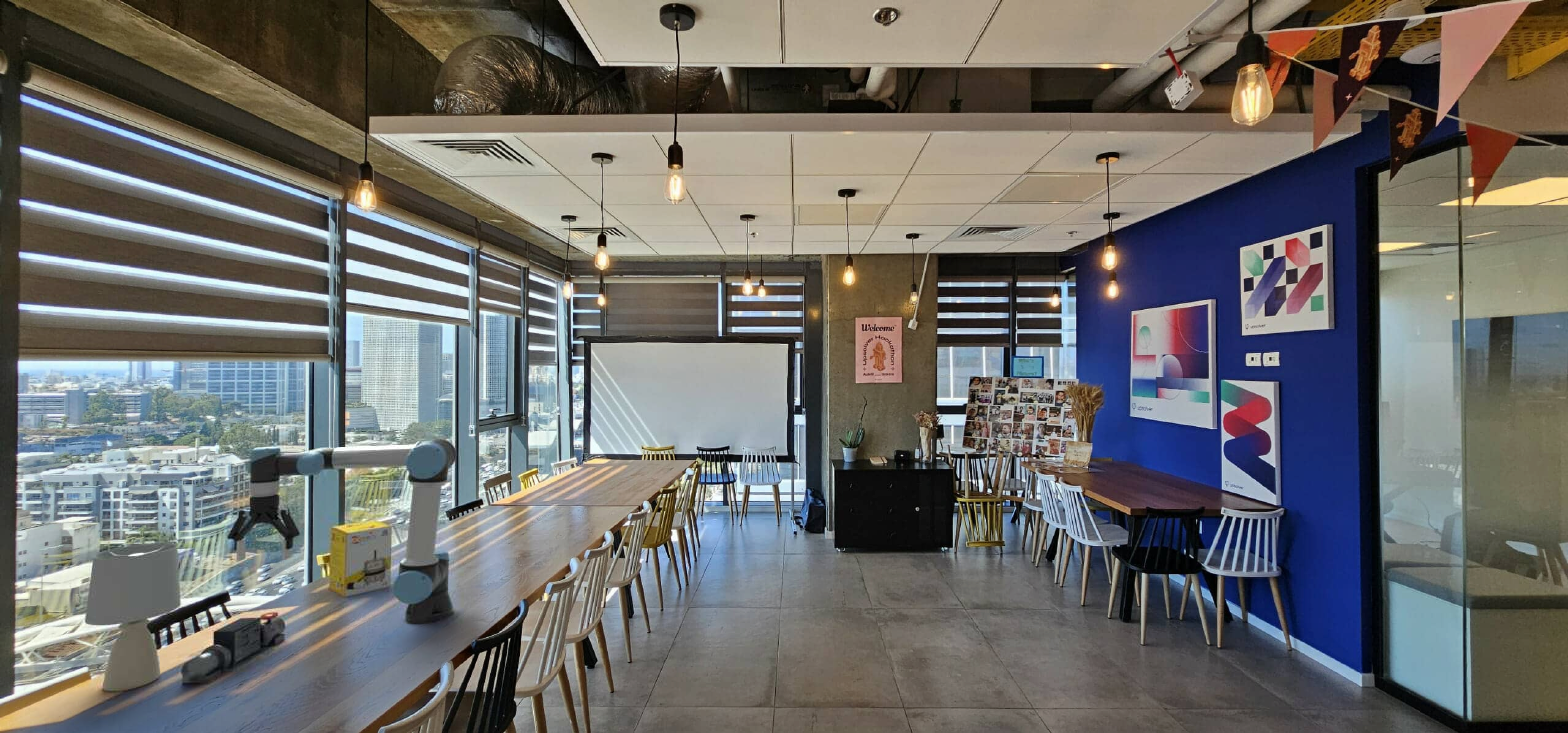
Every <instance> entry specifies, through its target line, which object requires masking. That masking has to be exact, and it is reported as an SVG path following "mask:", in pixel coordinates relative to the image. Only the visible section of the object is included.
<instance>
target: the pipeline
mask: <svg viewBox="0 0 1568 733" xmlns="http://www.w3.org/2000/svg"><path fill="white" fill-rule="evenodd" d="M278 616H279V612H276V611H273V612H272V611H271V612H267V613H264V614H261V615H260V617H261V620H262V621H264V622H261V633H260V646H261V650H260V651H259V652H257V653H255V654H253V655H252V656H250V657H248V658H246V659H245V660H243V661H241V662H240V663H238V664H236V665H234V666H229V664H230V662H231V653H230V651H229V649H228V648H227V647H225V646H223V645H220V644H215V645H213V644H212V645H210V646H207V647H206V648H204V649H203V650H202V651H201V653H200V655H198V656H196V657H194V658H192V659H190V660H188V661H186V662H185V663H183V665H182V667H181V671H180V672H181V676H182V677H181V679H182V681H181V684H182V683H201V684H210V683H211V681H212V680H214V681H215V680H217V679H219V678H221V677H220V676H222V674H221V673H222V672H238V671H239V670H241V669H244V668H245V667H246V666H249V665H250V664H251V663H253V662H255V661H257V660H259V659H260V658H262V657H264V656H265V655H268V654H269V653H270V652H273V651H274V650H275V647H267V646H277V645H278V644H280V643H281V642H283V641H285V633H284V632H285V629H286V623H285V621H284V620H283V619H282V618H280V617H278ZM218 677H219V678H218ZM209 682H210V683H209ZM212 682H213V681H212Z"/></svg>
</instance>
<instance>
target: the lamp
mask: <svg viewBox="0 0 1568 733" xmlns="http://www.w3.org/2000/svg"><path fill="white" fill-rule="evenodd" d="M179 565H180V564H179V551H178V544H176V543H172V542H154V543H153V542H152V543H151V542H150V543H143V544H134V545H125V546H121V547H120V546H119V547H116V548H112V549H107V550H103V551H100V552H97V553H96V554H94V555H93V558H92V564H91V573H90V579H89V580H90V581H89V588H88V595H87V602H86V609H85V617H84V623H85V625H91V626H113V625H118V629H119V630H120V633H119V635H118V636H117V638H116V640H115V642H114V644H113V646H112V648H111V650H110V653H109V657H108V659H107V665H106V667H105V672H104V677H103V683H102V688H103V690H104V691H105V692H110V693H111V691H112V693H113V692H114V691H116V692H124V691H129V690H133V689H137V688H141V687H143V686H146V685H148V684H150V683H153V682H154V681H156V680H157V679H158V678H159V677H160V676H161V668H160V660H159V655H158V650H157V645H156V641H155V640H154V637H153V635H152V633H151V632H150V630H149V629H148V627H147V626H148V624H149V623H150V620H149V619H151V618H155V617H160V616H162V615H165V614H168V613H170V612H173V611H174V610H176V609H178V608H179V607H181V605H182V604H181V602H182V601H181V586H180V584H181V583H180V569H179ZM159 675H160V676H159ZM114 693H115V692H114Z"/></svg>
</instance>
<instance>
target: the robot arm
mask: <svg viewBox="0 0 1568 733" xmlns="http://www.w3.org/2000/svg"><path fill="white" fill-rule="evenodd" d="M456 450H457V449H456V448H455V445H453V443H452V442H450V441H448V440H446V439H442V438H441V439H439V438H437V439H433V440H426V441H425V440H424V441H417V442H416V443H414V444H399V445H394V444H393V445H372V446H346V447H329V446H328V447H327V446H323V447H318V448H314V449H310V450H305V451H301V452H300V451H299V452H287V453H286V452H282V451H281V448H280V447H279V446H263V447H262V446H261V447H255V448H253V449H252V450H251V452H250V459H249V460H250V461H249V465H250V466H249V470H250V472H249V474H250V475H249V477H250V480H249V495H250V497H249V508H250V509H248V508H244V509H240V510H239V511H238V514H237V516H238V517H237V519H236V521H235V522H234V524H233V526H232V527H231V530H230V531H229V533H228V535H227V539H228V540H233V541H234V542H233V543H234V544H233V546H234V551H236V562H241V561H244V560H246V546H247V544H246V542H247V539H246V538H245V536H246V535H247V534H249V532H251V530H252V529H253V528H254V527H255V525H256V524H257V525H259V524H267V525H268V524H269V525H271V526H273V527H274V528H275V529H276V530H277V531H278V533H279V534H280V535H281V536H282V537H283V538H284V539H282V542H281V543H282V545H281V561H286V560H288V559H291V549H293V547H294V538H296V537H298V536H300V535H301V533H300V531H299V528H298V527H297V525H296V523H295V521H294V520H293V517H292V516H291V512H290V508H289V507H287V508H282V509H279V506H280V494H279V492H280V487H281V486H280V483H281V482H280V480H281V477H286V476H287V477H289V476H294V477H295V476H305V477H308V476H316V475H319V474H320V473H321V472H322V471H323V470H325V471H326V470H341V469H342V470H343V469H362V468H363V469H367V468H390V467H392V468H393V467H406V470H407V472H408V480H407V481H408V482H409V484H410V485H411V486H412V492H411V502H410V511H409V520H408V530H407V540H406V549H405V550H406V551H405V555H404V557H402V558H401V559H400V561H399V567H398V574H397V576H396V577H395V579H394V581H393V584H392V593H393V596H394V597H395V599H397V600H398V601H399V602H401V603H404V604H407V608H406V610H405V614H404V620H405V622H407V623H410V624H429V623H435V622H438V621H441V620H444V619H446V618H448V617H450V616H451V615H452V614H453V613H454V605H453V602H452V600H451V596H450V593H449V574H450V573H449V571H450V570H449V568H450V555H449V552H448V551H446V550H436V542H437V531H438V523H439V513H440V503H441V502H440V501H441V494H442V487H443V485H444V484H445V483H447V481H448V475H449V474H448V473H449V469H450V468H451V467H453V465H454V463H455V461H456V459H457V451H456ZM248 516H250V519H248ZM279 516H280V517H279ZM247 519H248V521H247ZM246 521H247V523H246V524H245V522H246ZM244 524H245V525H244ZM242 527H243V528H242Z"/></svg>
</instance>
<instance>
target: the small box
mask: <svg viewBox="0 0 1568 733" xmlns="http://www.w3.org/2000/svg"><path fill="white" fill-rule="evenodd" d="M261 623H262V622H261V617H259V616H258V617H241V618H238V619H236V620H235V621H232V622H230V623H228V624H226V625H225V626H222V627H220V628H217V629H216V630H214V631H213V638H212V639H213V642H212V643H213V644H212V645H215V644H220V645H223V646H225V647H227V648H228V649H229V651H230V653H231V662H230V664H229V666H234V665H236V664H238V663H240V662H241V661H243V660H245V659H246V658H248V657H250V656H252V655H253V654H255V653H257V652H259V651H260V650H261V646H260V633H261Z"/></svg>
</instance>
